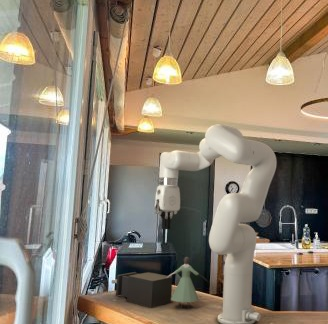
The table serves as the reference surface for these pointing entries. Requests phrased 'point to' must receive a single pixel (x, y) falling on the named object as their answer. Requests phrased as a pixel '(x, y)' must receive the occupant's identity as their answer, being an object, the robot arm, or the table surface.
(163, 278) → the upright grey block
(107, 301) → the table surface
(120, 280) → the drawer
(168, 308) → the table surface
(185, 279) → the character figurine
